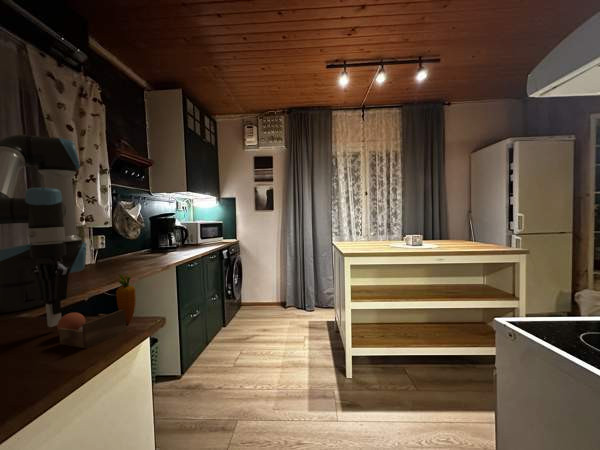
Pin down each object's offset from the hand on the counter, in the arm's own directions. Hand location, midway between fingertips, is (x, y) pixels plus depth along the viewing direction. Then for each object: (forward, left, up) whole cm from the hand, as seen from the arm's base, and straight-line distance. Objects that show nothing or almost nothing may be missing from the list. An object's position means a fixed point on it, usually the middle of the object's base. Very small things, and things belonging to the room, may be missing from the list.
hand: (55, 324), depth 79 cm
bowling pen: (+10, +12, -2) cm, 16 cm away
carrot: (+4, +19, -2) cm, 19 cm away
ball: (+5, +6, +1) cm, 8 cm away
